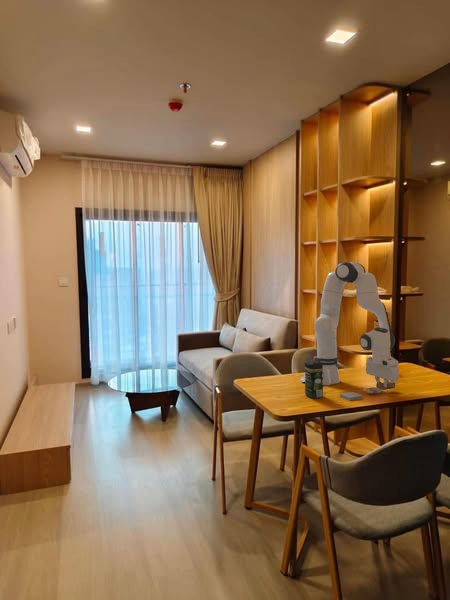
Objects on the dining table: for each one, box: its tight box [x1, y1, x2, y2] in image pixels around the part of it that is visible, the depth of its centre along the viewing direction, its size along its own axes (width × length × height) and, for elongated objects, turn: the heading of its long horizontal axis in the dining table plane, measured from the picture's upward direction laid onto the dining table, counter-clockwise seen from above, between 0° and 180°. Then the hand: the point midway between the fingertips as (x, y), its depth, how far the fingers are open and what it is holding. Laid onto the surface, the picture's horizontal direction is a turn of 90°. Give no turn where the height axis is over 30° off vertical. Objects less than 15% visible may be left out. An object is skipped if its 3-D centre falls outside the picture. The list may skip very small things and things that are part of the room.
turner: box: [362, 380, 396, 394], centre depth 210 cm, size 17×6×3 cm, turn 111°
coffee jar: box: [304, 359, 324, 399], centre depth 207 cm, size 10×8×19 cm
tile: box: [340, 391, 364, 402], centre depth 203 cm, size 2×7×8 cm
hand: (381, 386), depth 210 cm, fingers closed on turner, 3 cm apart
